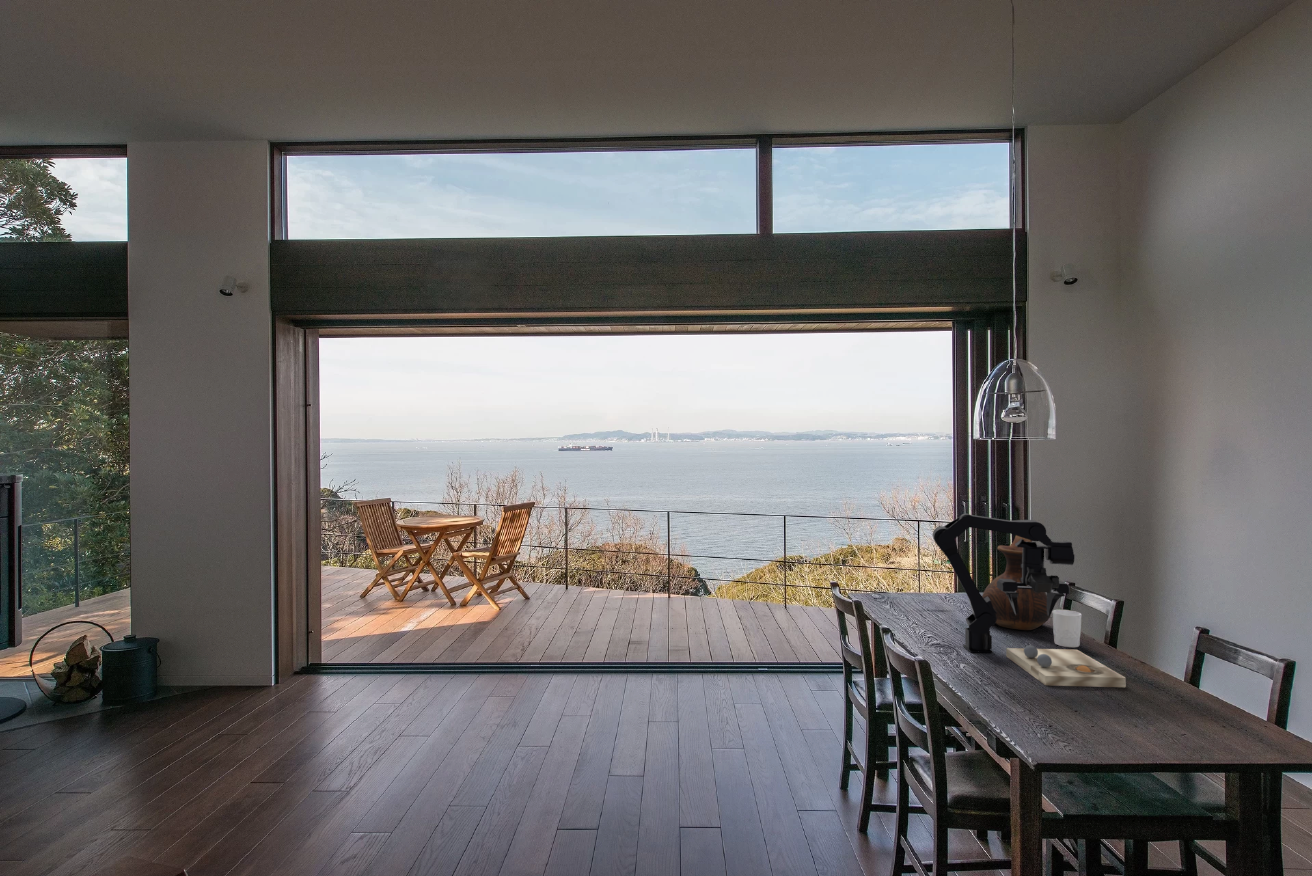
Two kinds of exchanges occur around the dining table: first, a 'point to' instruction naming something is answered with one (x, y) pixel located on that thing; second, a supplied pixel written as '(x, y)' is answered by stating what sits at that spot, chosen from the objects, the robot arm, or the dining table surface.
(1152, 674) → the dining table surface
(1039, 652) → the board
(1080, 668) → the ball
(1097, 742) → the dining table surface
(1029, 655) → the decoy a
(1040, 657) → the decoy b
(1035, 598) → the jug
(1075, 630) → the white cup
